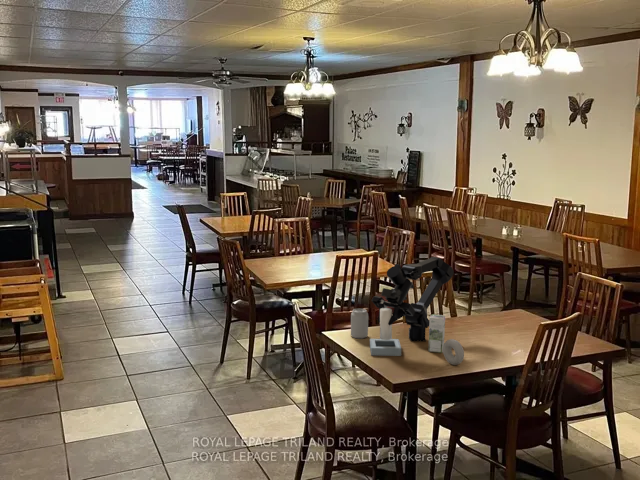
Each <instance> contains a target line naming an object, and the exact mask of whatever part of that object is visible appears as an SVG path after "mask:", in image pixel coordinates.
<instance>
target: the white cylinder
mask: <svg viewBox="0 0 640 480" xmlns="http://www.w3.org/2000/svg"><path fill="white" fill-rule="evenodd" d="M392 314H393V308H391V307H387V308H381V309H380V323H379V339H382V340H390V339H393V323H392V324H391V325H389V324H388V323H389V320H390V318H391V316H392Z"/></svg>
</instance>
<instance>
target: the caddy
mask: <svg viewBox="0 0 640 480" xmlns="http://www.w3.org/2000/svg"><path fill="white" fill-rule="evenodd" d="M369 349H370V356H384V357H385V356H386V357H387V356H389V357H390V356H392V357H393V356H394V357H395V356H396V357H397V356H398V357H401V356H402V345H401V343H400V339H398V338H392V339H390V340H382V339H380V338H369Z"/></svg>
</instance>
